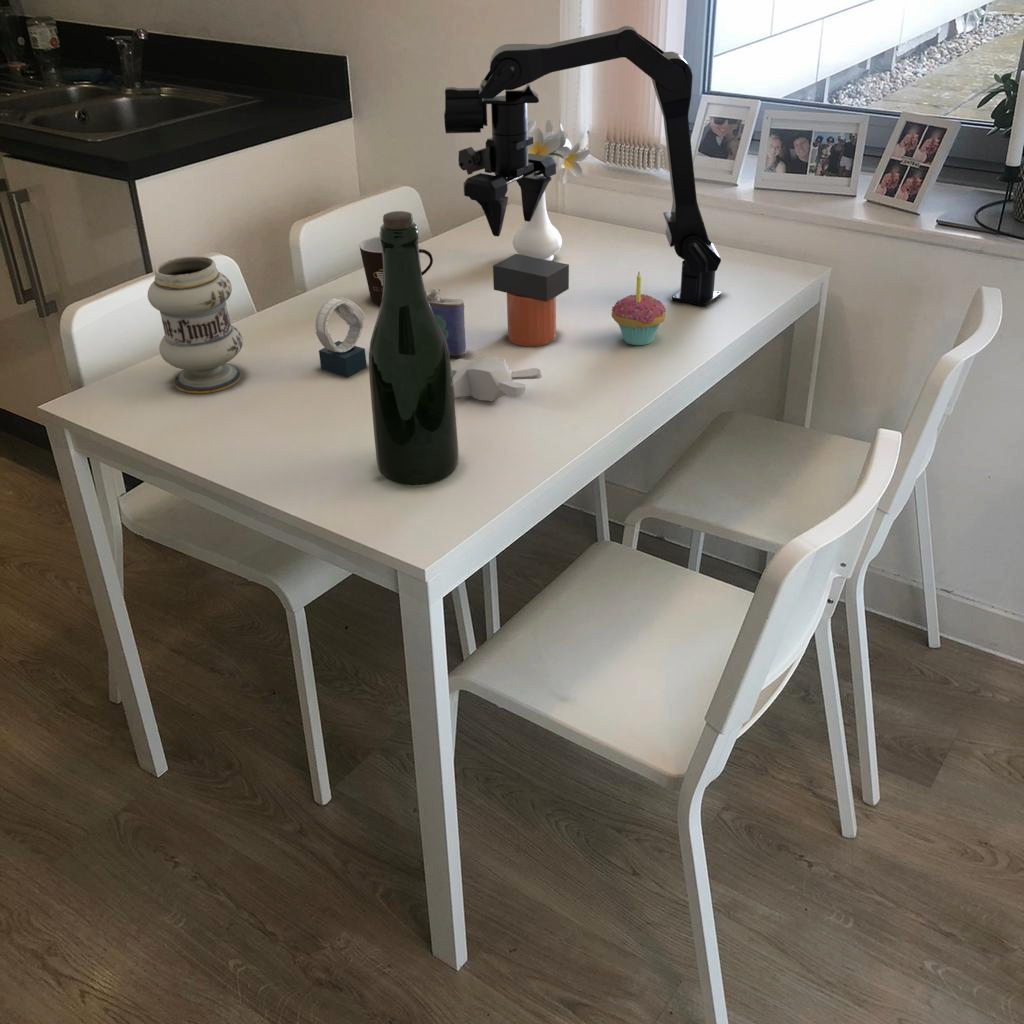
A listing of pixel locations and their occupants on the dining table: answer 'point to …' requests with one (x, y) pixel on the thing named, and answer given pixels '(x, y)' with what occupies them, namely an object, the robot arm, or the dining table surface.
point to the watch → (340, 354)
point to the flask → (450, 321)
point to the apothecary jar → (196, 323)
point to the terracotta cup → (531, 320)
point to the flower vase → (539, 232)
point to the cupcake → (638, 316)
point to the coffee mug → (378, 267)
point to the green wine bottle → (410, 368)
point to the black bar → (531, 277)
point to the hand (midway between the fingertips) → (512, 228)
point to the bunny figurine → (489, 378)
